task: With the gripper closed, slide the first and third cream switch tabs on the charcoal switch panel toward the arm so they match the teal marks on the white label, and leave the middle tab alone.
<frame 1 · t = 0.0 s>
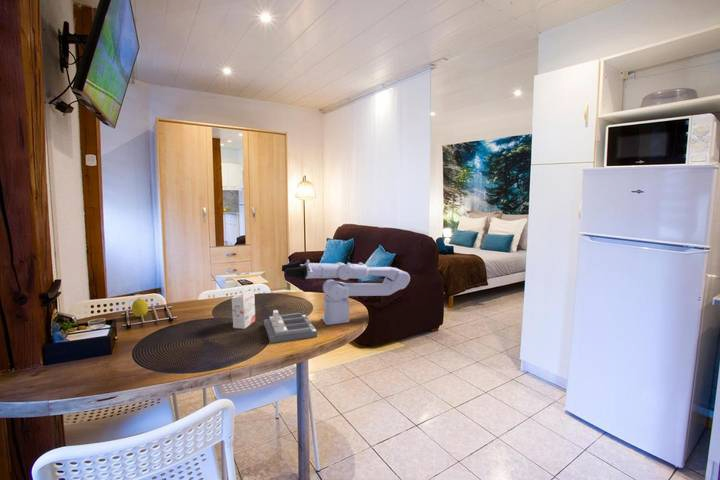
hand: (283, 270, 129), 22 cm above the table, tool horizontal, fingers open, 7 cm apart
tab c: (280, 326, 121), point 4 cm above the table, slide at 0.0 cm
ink cartridge box: (244, 325, 134), on the table
tab b: (278, 321, 126), point 4 cm above the table, slide at 0.0 cm
tab a: (275, 316, 131), point 4 cm above the table, slide at 0.0 cm
lemon: (140, 318, 140), on the table
switch panel: (289, 330, 128), on the table
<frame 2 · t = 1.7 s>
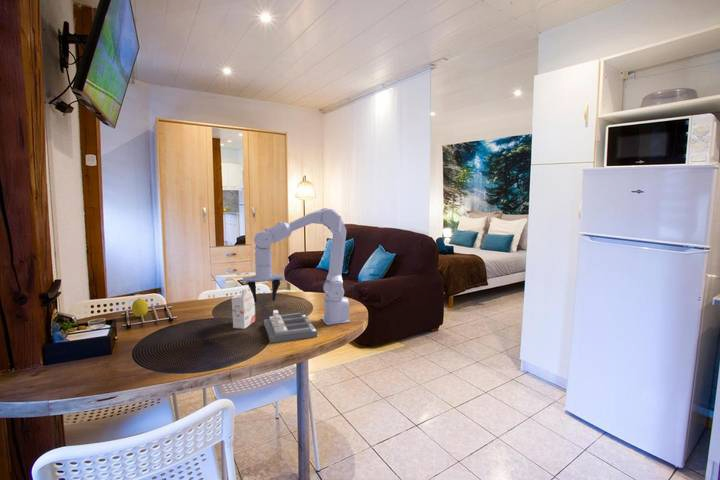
hand: (264, 300, 129), 10 cm above the table, tool pointing down, fingers open, 6 cm apart
nothing on the table moved.
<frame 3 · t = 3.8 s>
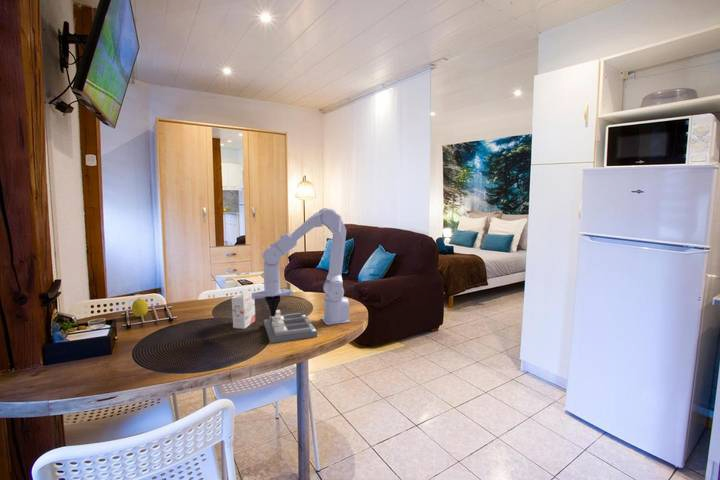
hand: (272, 315, 131), 4 cm above the table, tool pointing down, fingers closed
tab a: (278, 316, 132), point 4 cm above the table, slide at 0.8 cm, touching gripper
everything else where it was.
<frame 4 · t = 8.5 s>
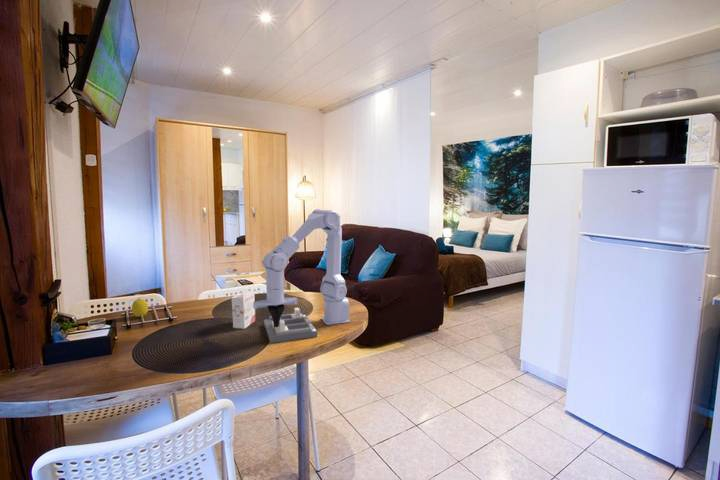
hand: (276, 326, 121), 4 cm above the table, tool pointing down, fingers closed
tab c: (281, 326, 121), point 4 cm above the table, slide at 0.4 cm, touching gripper
tab a: (297, 313, 134), point 4 cm above the table, slide at 8.1 cm
everything else where it was.
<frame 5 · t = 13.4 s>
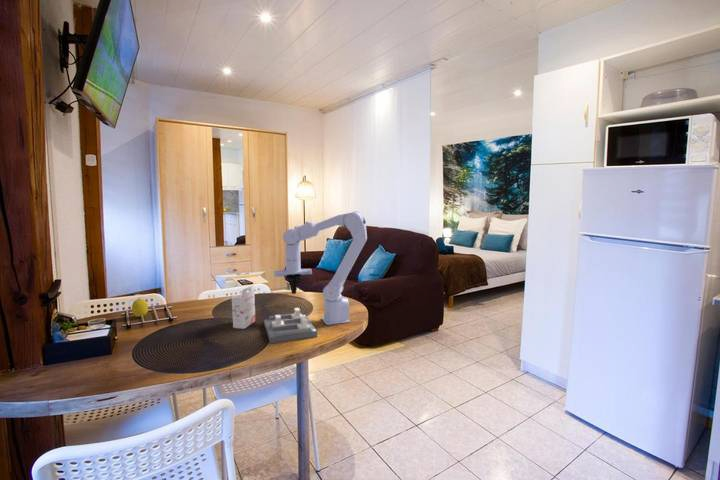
hand: (293, 293, 140), 10 cm above the table, tool pointing down, fingers closed
tab c: (303, 323, 124), point 4 cm above the table, slide at 8.1 cm
everything else where it was.
at the end: tab a slide at 8.1 cm; tab c slide at 8.1 cm; tab b slide at 0.0 cm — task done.
